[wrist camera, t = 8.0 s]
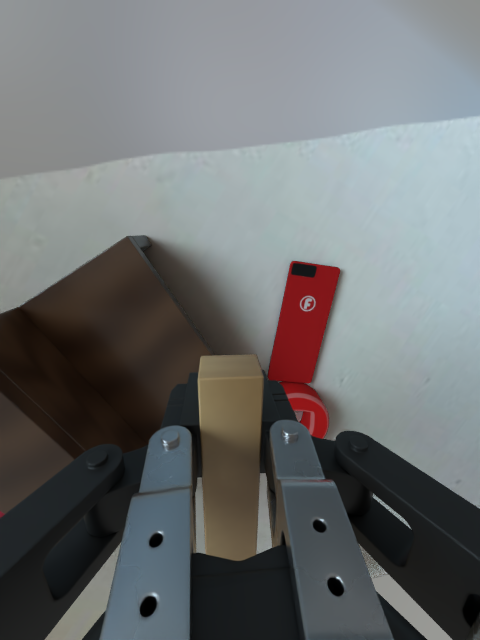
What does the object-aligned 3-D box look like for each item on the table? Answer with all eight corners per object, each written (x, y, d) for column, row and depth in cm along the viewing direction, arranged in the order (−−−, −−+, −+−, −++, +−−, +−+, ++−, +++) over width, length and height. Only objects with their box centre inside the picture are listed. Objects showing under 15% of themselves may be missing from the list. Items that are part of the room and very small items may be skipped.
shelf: (-1, 329, 30) (-154, 398, 17) (145, 234, 28) (89, 237, 16) (116, 447, 36) (65, 559, 24) (241, 376, 34) (256, 458, 22)
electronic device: (309, 381, 35) (339, 267, 31) (311, 384, 35) (341, 268, 30) (266, 378, 34) (290, 260, 30) (267, 380, 34) (292, 260, 29)
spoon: (177, 628, 14) (173, 675, 13) (147, 356, 9) (134, 381, 8) (280, 616, 15) (288, 660, 13) (306, 351, 10) (322, 374, 8)
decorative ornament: (333, 395, 36) (344, 409, 33) (299, 448, 39) (306, 466, 36) (272, 370, 34) (277, 384, 31) (239, 428, 37) (242, 446, 34)
